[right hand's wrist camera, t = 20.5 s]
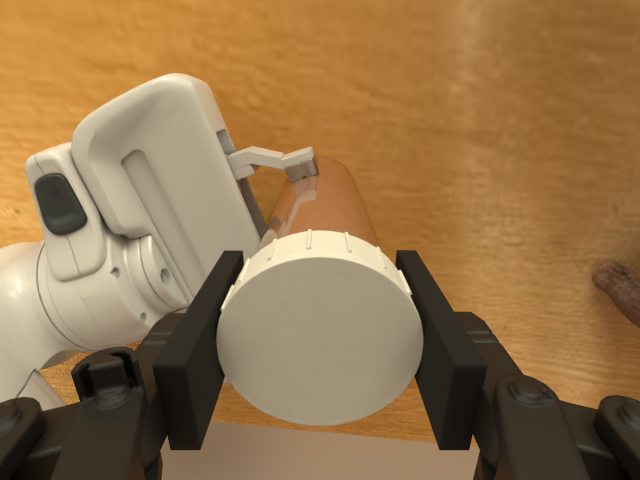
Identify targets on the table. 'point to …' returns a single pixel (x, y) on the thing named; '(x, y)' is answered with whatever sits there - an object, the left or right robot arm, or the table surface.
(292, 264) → the lid
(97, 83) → the table surface
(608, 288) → the sculpture
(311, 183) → the jar
